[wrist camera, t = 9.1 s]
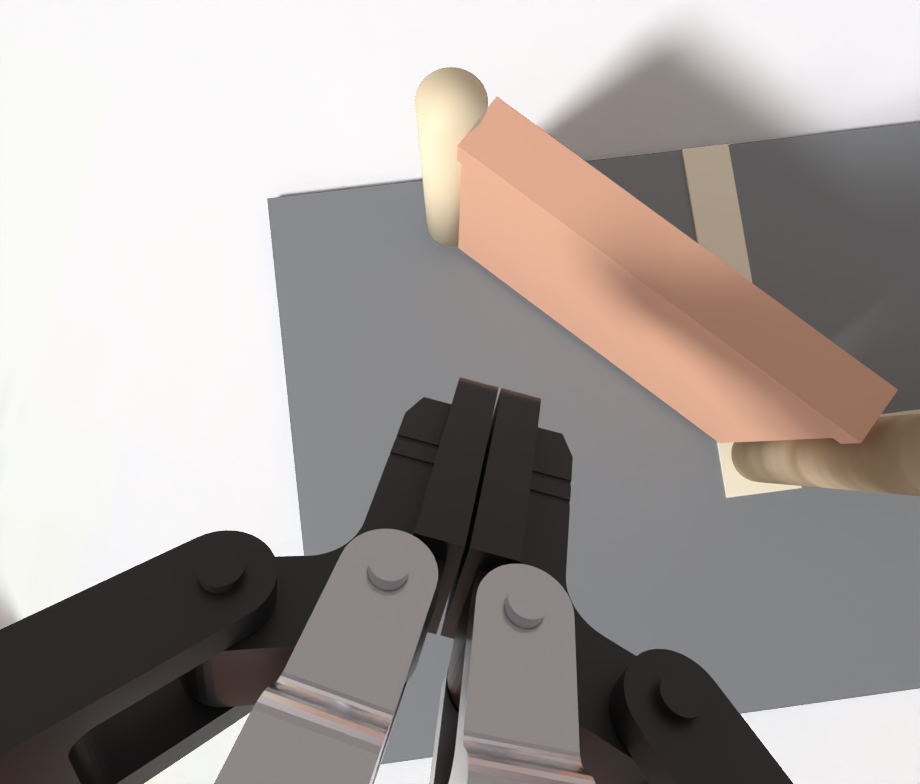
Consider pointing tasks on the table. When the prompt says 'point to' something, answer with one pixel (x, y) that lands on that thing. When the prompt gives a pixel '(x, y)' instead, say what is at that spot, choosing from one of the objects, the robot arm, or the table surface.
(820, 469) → the fence post section
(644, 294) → the swing fence panel
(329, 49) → the table surface
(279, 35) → the table surface
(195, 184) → the table surface
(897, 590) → the card
